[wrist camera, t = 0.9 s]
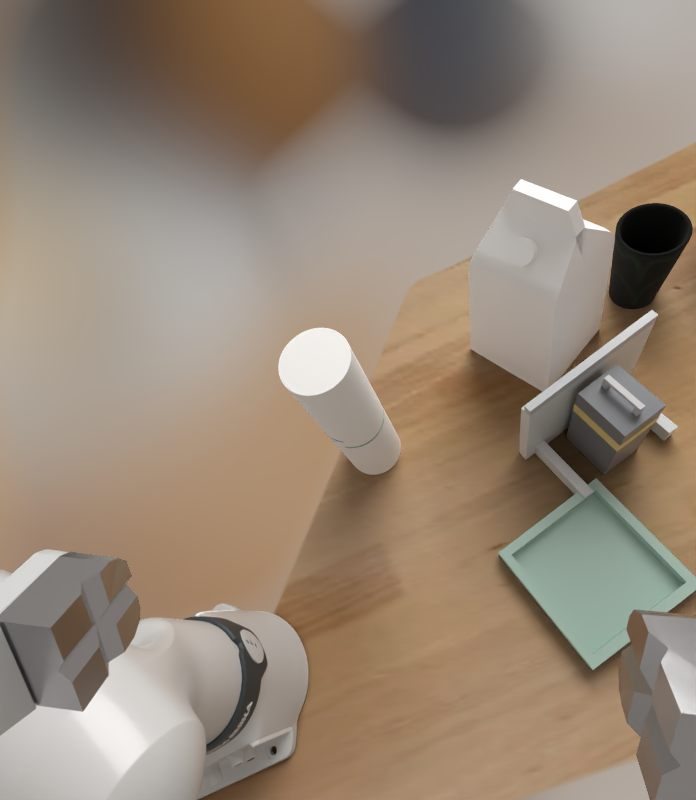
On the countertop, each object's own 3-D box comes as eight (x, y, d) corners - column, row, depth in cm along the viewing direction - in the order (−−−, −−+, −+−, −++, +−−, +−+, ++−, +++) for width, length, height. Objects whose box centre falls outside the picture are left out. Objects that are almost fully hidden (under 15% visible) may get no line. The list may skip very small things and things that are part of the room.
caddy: (603, 475, 61) (628, 430, 48) (565, 437, 64) (579, 386, 51) (637, 449, 61) (671, 397, 48) (598, 413, 64) (620, 355, 51)
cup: (588, 285, 72) (601, 223, 61) (639, 258, 71) (661, 192, 61) (624, 325, 68) (645, 267, 57) (678, 297, 67) (709, 233, 57)
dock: (573, 510, 60) (590, 472, 47) (519, 452, 65) (521, 403, 51) (681, 427, 61) (729, 366, 48) (620, 375, 65) (648, 307, 52)
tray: (590, 669, 54) (593, 670, 52) (498, 555, 60) (498, 552, 59) (696, 586, 54) (702, 584, 52) (593, 482, 61) (596, 477, 59)
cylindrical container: (362, 417, 73) (299, 320, 51) (409, 434, 70) (364, 338, 48) (340, 463, 71) (265, 382, 49) (387, 482, 68) (329, 405, 46)
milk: (599, 329, 68) (643, 173, 46) (546, 394, 67) (565, 265, 44) (520, 290, 74) (525, 133, 51) (470, 348, 72) (452, 214, 50)
